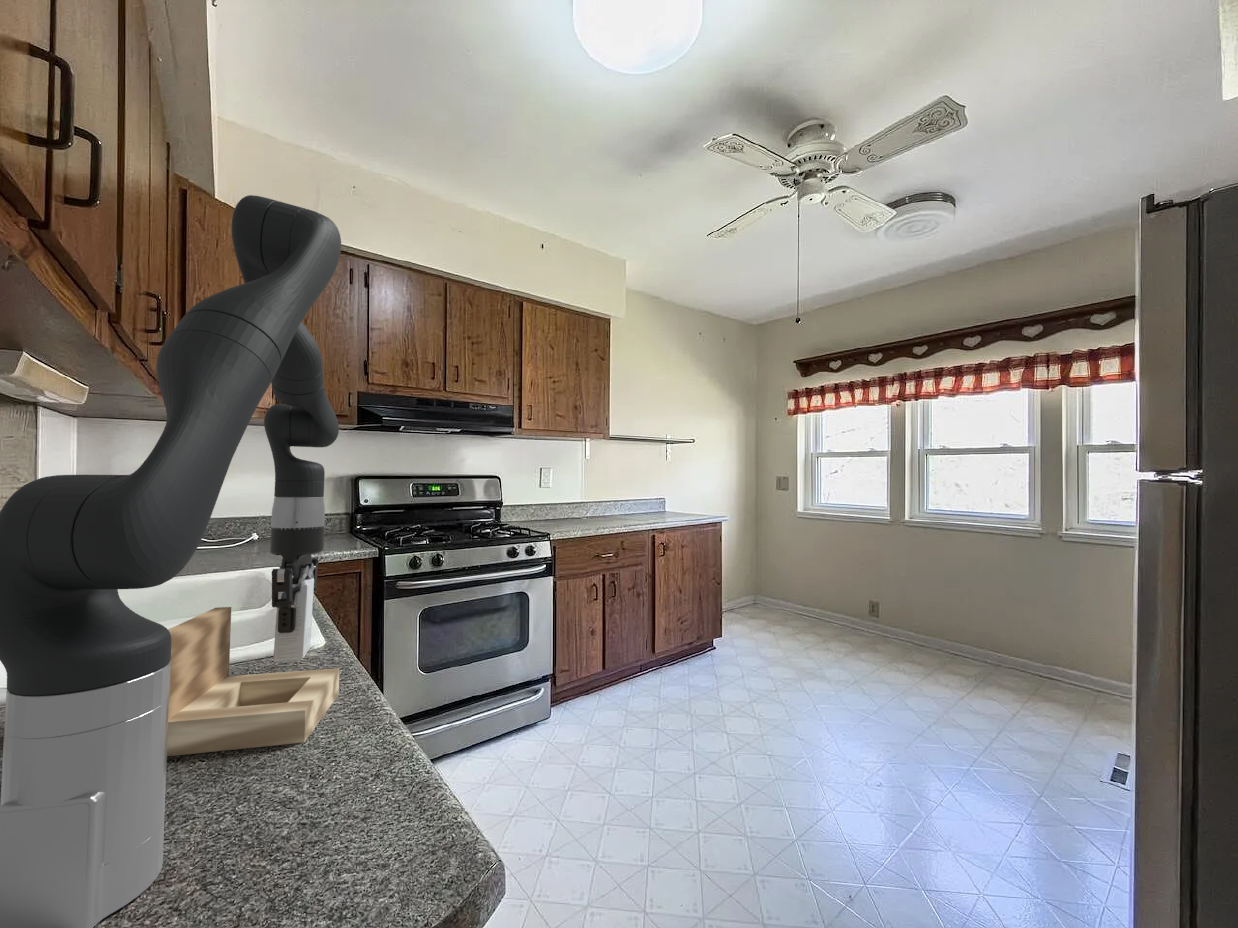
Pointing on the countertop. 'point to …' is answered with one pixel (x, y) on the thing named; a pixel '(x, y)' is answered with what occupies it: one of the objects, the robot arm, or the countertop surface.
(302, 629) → the skincare box
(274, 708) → the wooden frame with backboard
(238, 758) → the countertop surface
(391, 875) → the countertop surface
